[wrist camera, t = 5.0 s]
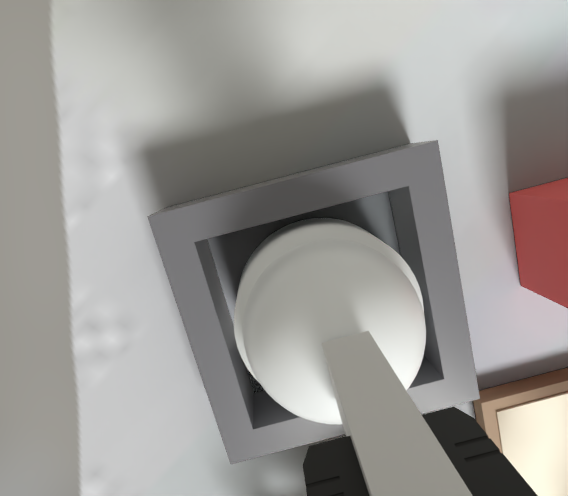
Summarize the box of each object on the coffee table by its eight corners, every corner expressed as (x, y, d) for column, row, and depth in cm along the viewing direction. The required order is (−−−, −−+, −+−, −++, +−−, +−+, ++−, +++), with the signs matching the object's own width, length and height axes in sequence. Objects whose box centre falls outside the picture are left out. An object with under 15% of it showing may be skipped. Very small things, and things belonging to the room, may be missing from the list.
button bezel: (234, 423, 22) (230, 464, 19) (164, 208, 19) (147, 216, 16) (450, 367, 22) (480, 398, 19) (410, 143, 19) (437, 140, 16)
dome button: (262, 388, 21) (262, 506, 14) (217, 241, 19) (192, 289, 12) (412, 349, 21) (490, 446, 14) (382, 198, 19) (453, 220, 12)
